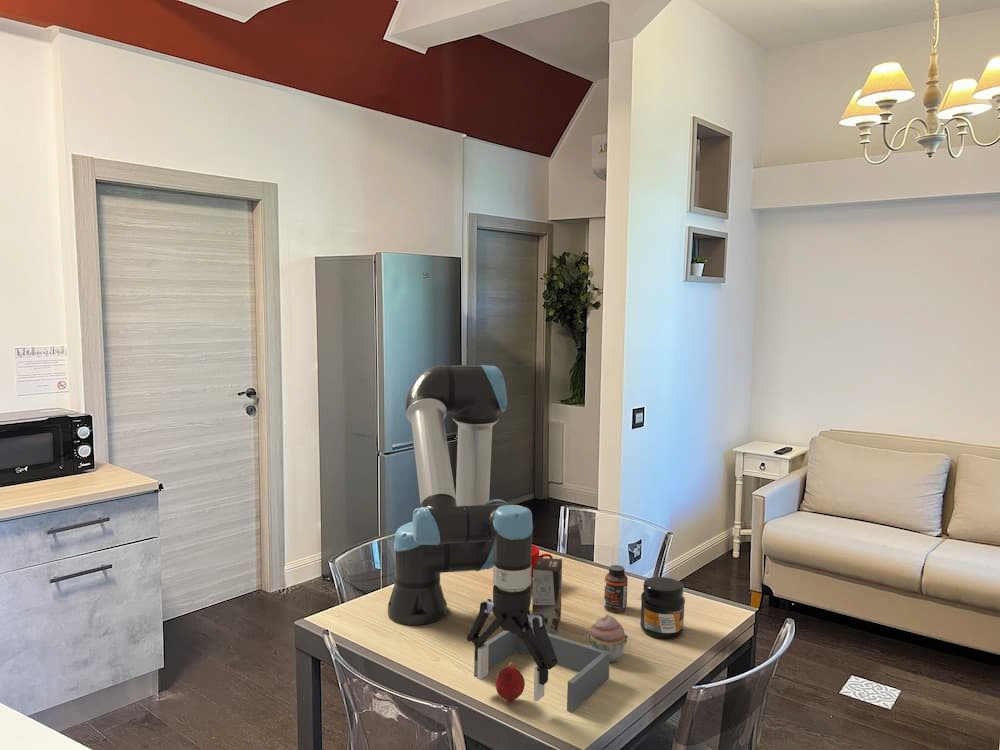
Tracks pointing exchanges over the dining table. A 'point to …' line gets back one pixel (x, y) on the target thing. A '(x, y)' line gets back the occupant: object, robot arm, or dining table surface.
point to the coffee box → (547, 592)
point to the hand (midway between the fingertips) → (510, 687)
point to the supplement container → (662, 608)
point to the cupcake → (608, 637)
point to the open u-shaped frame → (568, 655)
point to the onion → (510, 683)
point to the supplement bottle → (615, 589)
